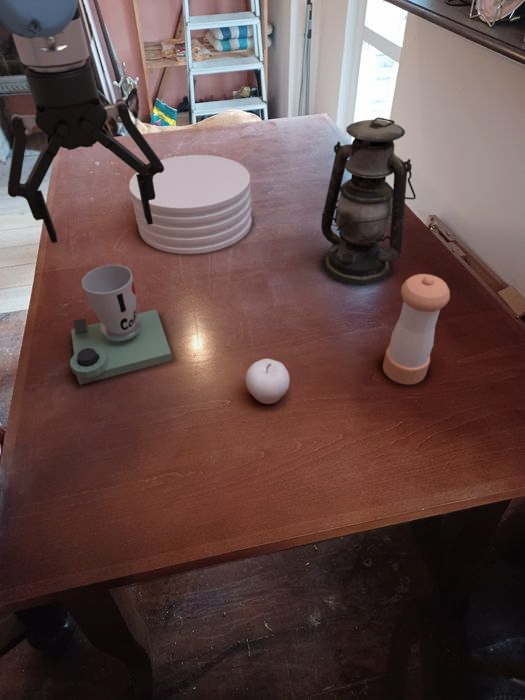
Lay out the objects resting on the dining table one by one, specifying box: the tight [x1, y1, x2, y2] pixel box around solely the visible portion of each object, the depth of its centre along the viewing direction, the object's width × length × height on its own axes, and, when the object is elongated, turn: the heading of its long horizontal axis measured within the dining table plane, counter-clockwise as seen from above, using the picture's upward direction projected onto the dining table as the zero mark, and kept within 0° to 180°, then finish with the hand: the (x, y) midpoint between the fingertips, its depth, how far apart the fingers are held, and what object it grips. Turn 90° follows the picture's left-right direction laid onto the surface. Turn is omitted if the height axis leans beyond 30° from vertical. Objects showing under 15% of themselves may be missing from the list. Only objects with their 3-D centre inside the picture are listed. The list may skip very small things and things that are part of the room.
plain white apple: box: [245, 358, 291, 405], centre depth 76 cm, size 7×7×8 cm
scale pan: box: [73, 313, 142, 341], centre depth 86 cm, size 12×9×1 cm
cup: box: [81, 264, 138, 334], centre depth 82 cm, size 8×8×10 cm
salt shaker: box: [382, 273, 451, 385], centre depth 75 cm, size 7×7×19 cm
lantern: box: [320, 117, 417, 287], centre depth 96 cm, size 19×19×30 cm
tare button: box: [77, 348, 98, 367], centre depth 80 cm, size 3×3×2 cm
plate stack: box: [128, 154, 253, 255], centre depth 115 cm, size 28×28×12 cm
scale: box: [69, 309, 173, 386], centre depth 85 cm, size 16×14×4 cm
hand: (102, 229), depth 70 cm, fingers open, 13 cm apart
